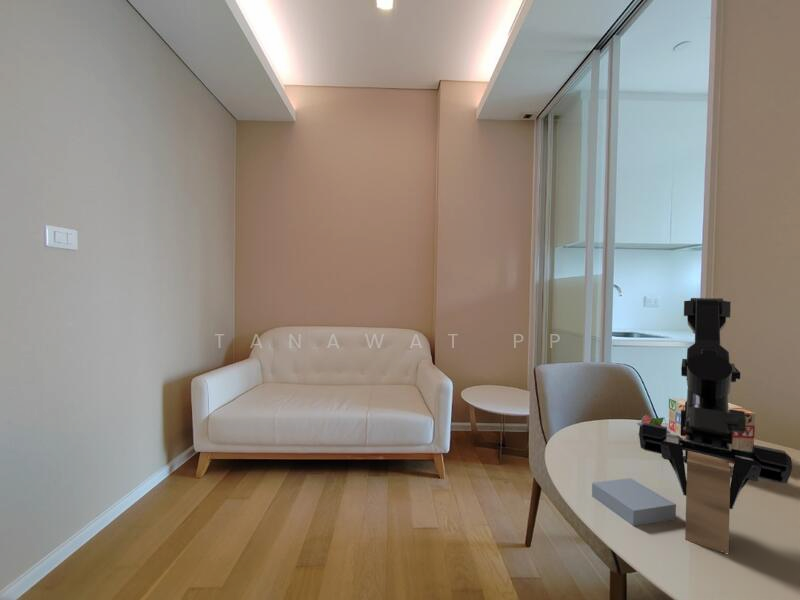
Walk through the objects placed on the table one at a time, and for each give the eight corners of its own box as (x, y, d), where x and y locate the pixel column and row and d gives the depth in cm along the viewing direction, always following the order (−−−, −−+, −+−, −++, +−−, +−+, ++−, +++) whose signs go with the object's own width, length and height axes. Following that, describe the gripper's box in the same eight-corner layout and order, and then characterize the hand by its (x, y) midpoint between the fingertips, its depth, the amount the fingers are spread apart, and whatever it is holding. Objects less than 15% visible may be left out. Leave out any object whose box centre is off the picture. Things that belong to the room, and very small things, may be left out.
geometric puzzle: (683, 438, 91) (665, 408, 96) (661, 440, 89) (645, 409, 94) (661, 446, 96) (646, 417, 101) (641, 447, 95) (626, 418, 100)
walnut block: (686, 524, 59) (687, 450, 59) (726, 537, 56) (728, 459, 56) (685, 539, 55) (687, 460, 55) (728, 554, 52) (730, 471, 52)
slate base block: (630, 493, 69) (630, 478, 69) (675, 521, 61) (675, 504, 61) (591, 498, 67) (592, 482, 67) (632, 528, 59) (633, 510, 58)
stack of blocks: (667, 429, 104) (668, 387, 104) (690, 430, 103) (691, 388, 103) (725, 462, 83) (726, 410, 83) (754, 464, 82) (756, 412, 82)
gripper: (641, 378, 65) (631, 458, 56) (791, 399, 53) (807, 504, 44) (645, 411, 71) (636, 487, 62) (780, 436, 59) (792, 534, 50)
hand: (707, 501), depth 55 cm, fingers closed on walnut block, 5 cm apart
